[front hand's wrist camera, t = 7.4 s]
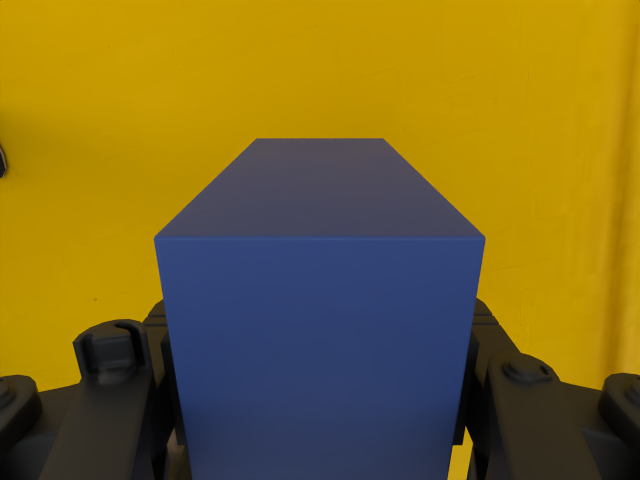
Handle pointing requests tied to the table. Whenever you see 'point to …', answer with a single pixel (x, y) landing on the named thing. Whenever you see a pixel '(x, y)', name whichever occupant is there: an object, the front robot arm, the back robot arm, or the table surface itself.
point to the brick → (319, 315)
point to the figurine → (2, 164)
